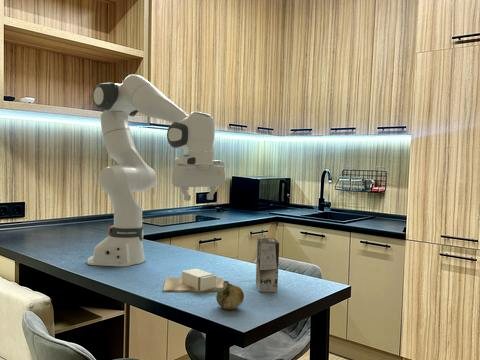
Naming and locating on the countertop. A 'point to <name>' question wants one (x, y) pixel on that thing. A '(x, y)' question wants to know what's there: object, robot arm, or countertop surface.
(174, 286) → the mat
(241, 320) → the countertop surface
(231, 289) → the onion
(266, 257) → the coffee box
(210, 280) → the card box
